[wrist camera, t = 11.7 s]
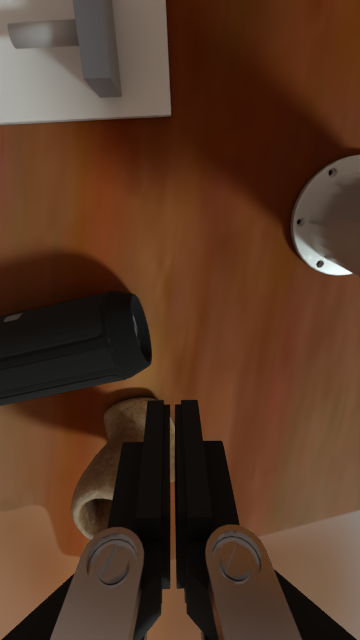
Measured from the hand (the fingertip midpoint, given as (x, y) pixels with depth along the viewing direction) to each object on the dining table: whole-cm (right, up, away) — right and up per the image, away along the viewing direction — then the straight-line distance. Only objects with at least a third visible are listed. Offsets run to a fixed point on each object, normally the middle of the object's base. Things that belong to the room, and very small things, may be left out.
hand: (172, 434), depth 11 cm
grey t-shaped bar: (-9, +28, +17) cm, 34 cm away
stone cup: (-6, -13, +37) cm, 40 cm away
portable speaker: (-17, +2, +30) cm, 34 cm away
